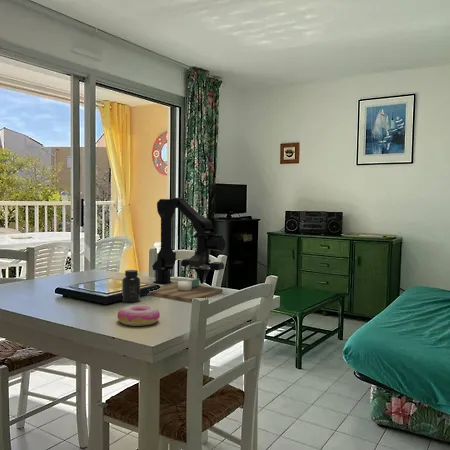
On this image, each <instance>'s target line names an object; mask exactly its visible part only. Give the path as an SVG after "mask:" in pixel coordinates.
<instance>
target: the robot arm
mask: <svg viewBox="0 0 450 450" xmlns="http://www.w3.org/2000/svg"><path fill="white" fill-rule="evenodd" d="M156 209H157V210H156V212H157V214H158V215H159V217H160V249H159V251H158V252H157V257H156V261H155V262H154V263H153V264H152V266H151V267H152V270H153V271H155V279H154V280H153V282H152V283H153V284H160V285H168V284H172V283H173V281H172V280H171V270H173V269H174V266H175V264H176V261H177V253H176V251H175V252H174V251H173V248H172V220H173V219H172V218H173V216H174V215H175V210H176V209H178V210H179V211H180V212H181V213H182V214H183V215H184V217H186V218H187V219H188V220H189V221H190V222H191V224H192V225H191V226H192V227H193V229H194V230H195V234H194V235H193V238H195V239H196V250H194V254H193V255H192V256H191V257H190V258H188V257H187V258H184V259H182V260H181V262H180V263H181V267H188V266H189V267H190V268H192V269H193V270H194V271H195V272H196V274H197V277H198V279H199V284H200V285H203V284H204V282H205V281H206V279H207V277H208V274H209V272H210V271H211V270H212V271H221V270H224V269H225V264H224V262H222V261H214V262H211V261H212V260H211V259H210V254H212V251H218V252H222V251H224V250H225V248H226V241H225V238H224V235H223V234H218V233H217V231H216V229H215V227H214V225H213V222H212V220H210V219H209V218H208V217H206V216H203V215H201V214H200V213H198V212H197V210H196V209H194V208H193V207H192V206H191V205H190V204H189V203H188V202H187V201H186V199H185V198H184V197H175V198H159V200H158V201H157V202H156Z"/></svg>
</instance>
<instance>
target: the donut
mask: <svg viewBox="0 0 450 450" xmlns="http://www.w3.org/2000/svg"><path fill="white" fill-rule="evenodd" d="M160 315H161V314H160V311H159V309H157V308H156V307H155V306H152V305H147V304H132V305H128V306H123V307H122V308H120V309H119V310H118V312H117V319H118V321H119V322H120V323H122V324H123V325H125V326H131V327H142V326H144V327H145V326H149V325H153V324H155V323H156V322H158V321H159V318H160Z"/></svg>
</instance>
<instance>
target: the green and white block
mask: <svg viewBox="0 0 450 450" xmlns="http://www.w3.org/2000/svg"><path fill="white" fill-rule="evenodd" d="M177 282H178V290H181V291H189V290H192V287H195V286H198V285H200V280H199V278H194V279H189V280H178V281H177Z"/></svg>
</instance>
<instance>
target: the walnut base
mask: <svg viewBox="0 0 450 450" xmlns="http://www.w3.org/2000/svg"><path fill="white" fill-rule="evenodd" d="M159 287H160V288H159V289H157V290H153V291H149V293H148V294H147V295H148V296H151V297H152V296H153V297H157V298H163V299H168V300H174V301H179V302H183V303H184V302H185V303H189V304H192V303H191V302H192V299H193V298H205V299H207V298H206V297H208V298H211V297H214V296H217V295H219V294H223V293H222V292H224V291H223V290H224V289H223V288H218V287H214V286H213V287H211V286H206V285H202V284H199V285H198V286H195V287H192V290H189V291H181V290H178V281H176V282H171V283H168V284H164V285H161V286H159Z"/></svg>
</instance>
